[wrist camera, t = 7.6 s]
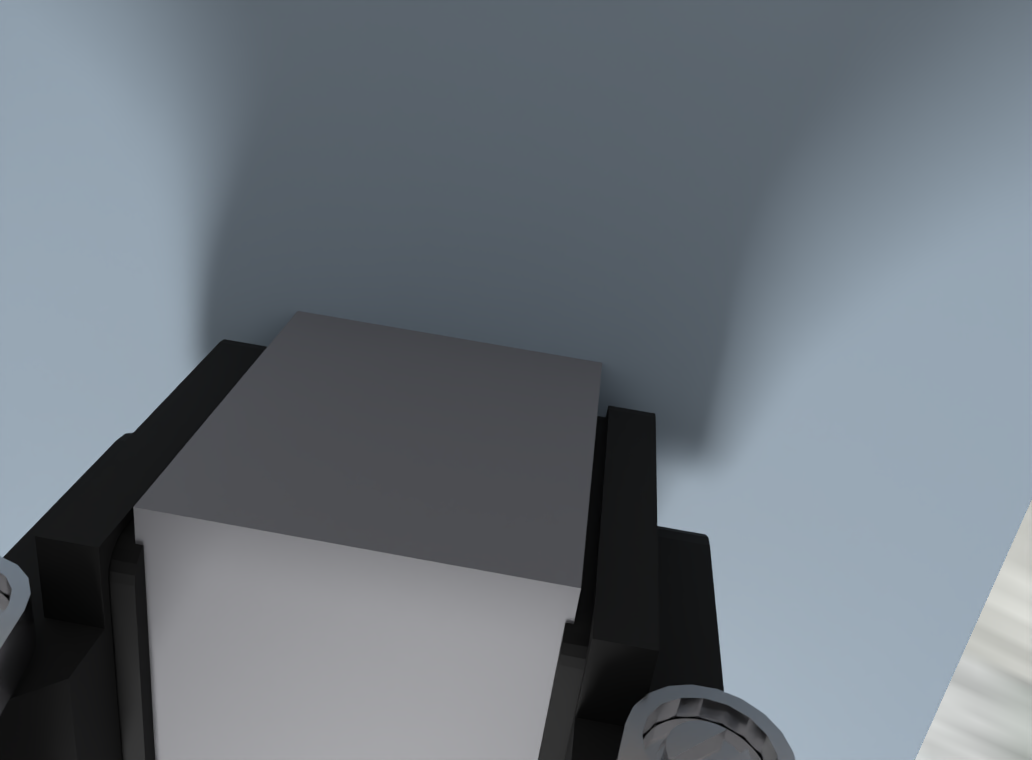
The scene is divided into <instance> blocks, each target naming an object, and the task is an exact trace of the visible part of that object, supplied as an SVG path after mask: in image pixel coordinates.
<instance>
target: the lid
mask: <svg viewBox="0 0 1032 760" xmlns="http://www.w3.org/2000/svg"><path fill="white" fill-rule="evenodd" d="M223 339H226V340H232V341H238V342H244V343H250V344H256V345H261V346H267V348H266V349H265V350H264V352H263V353H262V354H261V355H260V356H259V358H258V359H257V360H256V361H255V362H254V364H253V365H252V366H251V367H250V368H249V369H248V371H247V372H246V373H245V374H244V375H243V377H242V378H241V379H240V380H239V381H238V383H237V384H236V385H235V386H234V387H233V389H232V390H231V391H230V392H229V393H228V395H227V396H226V397H225V398H224V399H223V401H222V402H221V403H220V404H219V405H218V407H217V408H216V409H215V410H214V411H213V413H212V414H211V415H210V416H209V417H208V418H207V420H206V421H205V422H204V423H203V424H202V426H201V427H200V428H199V429H198V430H197V432H196V433H195V434H194V435H193V436H192V438H191V439H190V440H189V441H188V442H187V444H186V445H185V446H184V447H183V448H182V450H181V451H180V452H179V453H178V454H177V456H176V457H175V458H174V459H173V460H172V462H171V463H170V464H169V465H168V466H167V468H166V469H165V470H164V471H163V472H162V473H161V475H160V476H159V477H158V478H157V479H156V481H155V482H154V483H153V484H152V485H151V487H150V488H149V489H148V490H147V491H146V493H145V494H144V495H143V496H142V497H141V499H140V500H139V501H138V502H137V503H136V505H135V506H134V507H133V509H134V526H135V543H136V544H141V545H144V563H145V581H146V600H147V618H148V637H149V655H150V674H151V692H152V711H153V729H154V748H155V760H538V757H539V752H540V747H541V742H542V737H543V732H544V727H545V722H546V717H547V712H548V707H549V702H550V697H551V692H552V687H553V682H554V676H555V671H556V666H557V661H558V656H559V651H560V646H561V641H562V636H563V631H564V626H565V622H566V623H571V624H574V620H575V615H576V610H577V605H578V600H579V596H580V591H581V583H582V572H583V561H584V551H585V540H586V529H587V519H588V508H589V498H590V487H591V476H592V466H593V455H594V444H595V434H596V423H597V416H601V417H606V413H607V409H608V406H615V407H621V408H627V409H632V410H638V411H644V412H650V413H655V415H656V465H657V526H661V527H667V528H672V529H678V530H684V531H689V532H695V533H700V534H706V535H707V536H708V538H709V543H710V550H711V561H712V571H713V581H714V592H715V602H716V612H717V623H718V633H719V644H720V654H721V664H722V675H723V685H724V692H726V693H729V694H731V695H734V696H736V697H738V698H741V699H743V700H744V701H746V702H747V703H749V704H750V705H752V706H753V707H755V708H756V709H758V710H759V711H761V712H762V713H764V714H765V715H766V716H767V717H768V718H769V719H770V720H771V721H772V722H773V723H774V724H775V725H776V726H777V727H778V729H779V730H780V731H781V732H782V733H783V735H784V736H785V738H786V740H787V742H788V744H789V745H790V747H791V749H792V751H793V753H794V756H795V760H915V759H916V756H917V754H918V752H919V750H920V747H921V745H922V743H923V741H924V739H925V736H926V734H927V732H928V730H929V727H930V725H931V723H932V721H933V718H934V716H935V714H936V712H937V710H938V707H939V705H940V703H941V701H942V698H943V696H944V694H945V692H946V689H947V687H948V685H949V683H950V681H951V678H952V676H953V674H954V672H955V669H956V667H957V665H958V663H959V660H960V658H961V656H962V654H963V652H964V649H965V647H966V645H967V643H968V640H969V638H970V636H971V634H972V631H973V629H974V627H975V625H976V623H977V620H978V618H979V616H980V614H981V611H982V609H983V607H984V605H985V602H986V600H987V598H988V596H989V594H990V591H991V589H992V587H993V585H994V582H995V580H996V578H997V576H998V573H999V571H1000V569H1001V567H1002V565H1003V562H1004V560H1005V558H1006V556H1007V553H1008V551H1009V549H1010V547H1011V544H1012V542H1013V540H1014V538H1015V536H1016V533H1017V531H1018V529H1019V527H1020V524H1021V522H1022V520H1023V518H1024V515H1025V513H1026V511H1027V509H1028V507H1029V504H1030V502H1031V500H1032V0H0V556H1V557H4V556H5V555H6V554H7V553H8V551H9V550H10V549H11V548H12V547H13V546H14V545H15V544H16V543H17V542H18V541H19V540H20V539H21V538H22V537H23V536H24V535H25V534H26V533H27V532H28V531H29V530H30V529H31V528H32V527H33V526H34V525H35V524H36V523H37V522H38V521H39V520H40V518H41V517H42V516H43V515H44V514H45V513H46V512H47V511H48V510H49V509H50V508H51V507H52V506H53V505H54V504H55V503H56V502H57V501H58V500H59V499H60V498H61V497H62V496H63V495H64V494H65V493H66V492H67V491H68V490H69V489H70V488H71V487H72V485H73V484H74V483H75V482H76V481H77V480H78V479H79V478H80V477H81V476H82V475H83V474H84V473H85V472H86V471H87V470H88V469H89V468H90V467H91V466H92V465H93V464H94V463H95V462H96V461H97V460H98V459H99V458H100V457H101V456H102V455H103V454H104V452H105V451H106V450H107V449H108V448H109V447H110V446H111V445H112V444H113V443H114V442H115V441H116V440H117V439H119V438H120V437H121V436H123V435H124V434H125V433H133V432H134V431H135V430H136V429H137V428H138V427H139V426H140V425H141V424H142V423H143V422H144V421H145V420H146V419H147V418H148V417H149V416H150V415H151V414H152V412H153V411H154V410H155V409H156V408H157V407H158V406H159V405H160V404H161V403H162V402H163V401H164V400H165V399H166V398H167V397H168V396H169V395H170V394H171V393H172V391H173V390H174V389H175V388H176V387H177V386H178V385H179V384H180V383H181V382H182V381H183V380H184V379H185V378H186V377H187V376H188V375H189V374H190V373H191V372H192V370H193V369H194V368H195V367H196V366H197V365H198V364H199V363H200V362H201V361H202V360H203V359H204V358H205V357H206V356H207V355H208V354H209V353H210V352H211V351H212V349H213V348H214V347H215V346H216V345H217V344H218V343H219V342H220V341H222V340H223Z"/></svg>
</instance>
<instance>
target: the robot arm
mask: <svg viewBox="0 0 1032 760" xmlns="http://www.w3.org/2000/svg"><path fill="white" fill-rule="evenodd" d="M266 348H267V346H261V345H256V344H250V343H244V342H238V341H232V340H226V339H223V340H222V341H220V342H219V343H218V344H217V345H216V346H215V347H214V348H213V349H212V351H211V352H210V353H209V354H208V355H207V356H206V357H205V358H204V359H203V360H202V361H201V362H200V363H199V364H198V365H197V366H196V367H195V368H194V369H193V370H192V372H191V373H190V374H189V375H188V376H187V377H186V378H185V379H184V380H183V381H182V382H181V383H180V384H179V385H178V386H177V387H176V388H175V389H174V390H173V391H172V393H171V394H170V395H169V396H168V397H167V398H166V399H165V400H164V401H163V402H162V403H161V404H160V405H159V406H158V407H157V408H156V409H155V410H154V411H153V412H152V414H151V415H150V416H149V417H148V418H147V419H146V420H145V421H144V422H143V423H142V424H141V425H140V426H139V427H138V428H137V429H136V430H135V431H134V432H133V433H125V434H124V435H123V436H121V437H120V438H119V439H117V440H116V441H115V442H114V443H113V444H112V445H111V446H110V447H109V448H108V449H107V450H106V451H105V452H104V454H103V455H102V456H101V457H100V458H99V459H98V460H97V461H96V462H95V463H94V464H93V465H92V466H91V467H90V468H89V469H88V470H87V471H86V472H85V473H84V474H83V475H82V476H81V477H80V478H79V479H78V480H77V481H76V482H75V483H74V484H73V485H72V487H71V488H70V489H69V490H68V491H67V492H66V493H65V494H64V495H63V496H62V497H61V498H60V499H59V500H58V501H57V502H56V503H55V504H54V505H53V506H52V507H51V508H50V509H49V510H48V511H47V512H46V513H45V514H44V515H43V516H42V517H41V518H40V520H39V521H38V522H37V523H36V524H35V525H34V526H33V527H32V528H31V529H30V530H29V531H28V532H27V533H26V534H25V535H24V536H23V537H22V538H21V539H20V540H19V541H18V542H17V543H16V544H15V545H14V546H13V547H12V548H11V549H10V550H9V551H8V553H7V554H6V555H5V556H4V557H1V556H0V760H155V748H154V729H153V711H152V692H151V674H150V655H149V637H148V618H147V600H146V581H145V563H144V545H141V544H136V543H135V526H134V509H133V507H134V506H135V505H136V503H137V502H138V501H139V500H140V499H141V497H142V496H143V495H144V494H145V493H146V491H147V490H148V489H149V488H150V487H151V485H152V484H153V483H154V482H155V481H156V479H157V478H158V477H159V476H160V475H161V473H162V472H163V471H164V470H165V469H166V468H167V466H168V465H169V464H170V463H171V462H172V460H173V459H174V458H175V457H176V456H177V454H178V453H179V452H180V451H181V450H182V448H183V447H184V446H185V445H186V444H187V442H188V441H189V440H190V439H191V438H192V436H193V435H194V434H195V433H196V432H197V430H198V429H199V428H200V427H201V426H202V424H203V423H204V422H205V421H206V420H207V418H208V417H209V416H210V415H211V414H212V413H213V411H214V410H215V409H216V408H217V407H218V405H219V404H220V403H221V402H222V401H223V399H224V398H225V397H226V396H227V395H228V393H229V392H230V391H231V390H232V389H233V387H234V386H235V385H236V384H237V383H238V381H239V380H240V379H241V378H242V377H243V375H244V374H245V373H246V372H247V371H248V369H249V368H250V367H251V366H252V365H253V364H254V362H255V361H256V360H257V359H258V358H259V356H260V355H261V354H262V353H263V352H264V350H265V349H266ZM538 760H795V756H794V753H793V751H792V749H791V747H790V745H789V744H788V742H787V740H786V738H785V736H784V735H783V733H782V732H781V731H780V730H779V729H778V727H777V726H776V725H775V724H774V723H773V722H772V721H771V720H770V719H769V718H768V717H767V716H766V715H765V714H764V713H762V712H761V711H759V710H758V709H756V708H755V707H753V706H752V705H750V704H749V703H747V702H746V701H744V700H743V699H741V698H738V697H736V696H734V695H731V694H729V693H726V692H724V685H723V675H722V664H721V654H720V644H719V633H718V623H717V612H716V602H715V592H714V581H713V571H712V561H711V550H710V543H709V538H708V536H707V535H706V534H700V533H695V532H689V531H684V530H678V529H672V528H667V527H661V526H657V465H656V415H655V413H650V412H644V411H638V410H632V409H627V408H621V407H615V406H608V409H607V413H606V417H601V416H597V423H596V434H595V444H594V455H593V466H592V476H591V487H590V498H589V508H588V519H587V529H586V540H585V551H584V561H583V572H582V583H581V591H580V596H579V600H578V605H577V610H576V615H575V620H574V624H571V623H566V622H565V626H564V631H563V636H562V641H561V646H560V651H559V656H558V661H557V666H556V671H555V676H554V682H553V687H552V692H551V697H550V702H549V707H548V712H547V717H546V722H545V727H544V732H543V737H542V742H541V747H540V752H539V757H538Z"/></svg>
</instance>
